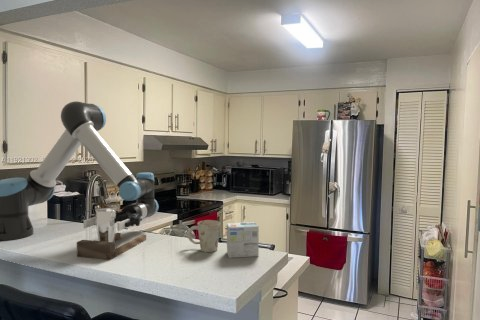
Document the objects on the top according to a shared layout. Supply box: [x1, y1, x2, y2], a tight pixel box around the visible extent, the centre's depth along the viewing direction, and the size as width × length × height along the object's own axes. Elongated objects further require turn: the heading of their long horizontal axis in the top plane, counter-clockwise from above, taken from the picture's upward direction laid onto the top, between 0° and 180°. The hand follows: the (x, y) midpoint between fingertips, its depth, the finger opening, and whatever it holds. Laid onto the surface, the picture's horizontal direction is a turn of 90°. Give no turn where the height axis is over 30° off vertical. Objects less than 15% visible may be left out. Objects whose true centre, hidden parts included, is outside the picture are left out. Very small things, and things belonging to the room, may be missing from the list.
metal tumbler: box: [95, 207, 117, 242], centre depth 127 cm, size 7×7×15 cm
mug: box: [187, 219, 221, 253], centre depth 130 cm, size 8×13×10 cm, turn 78°
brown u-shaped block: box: [76, 232, 147, 261], centre depth 132 cm, size 24×13×5 cm, turn 166°
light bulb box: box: [226, 221, 260, 259], centre depth 125 cm, size 11×7×11 cm, turn 100°
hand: (101, 225), depth 124 cm, fingers open, 13 cm apart
